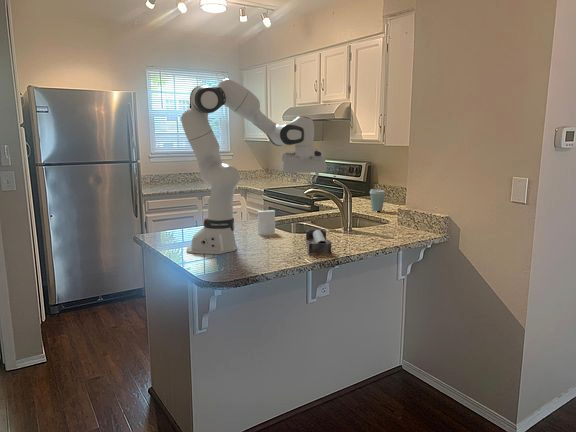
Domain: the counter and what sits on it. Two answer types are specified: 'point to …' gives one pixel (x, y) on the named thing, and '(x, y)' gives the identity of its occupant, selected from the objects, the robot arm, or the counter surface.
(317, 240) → the tube
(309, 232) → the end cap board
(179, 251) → the counter surface
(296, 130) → the robot arm
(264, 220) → the white upright block
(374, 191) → the disposable coffee cup
